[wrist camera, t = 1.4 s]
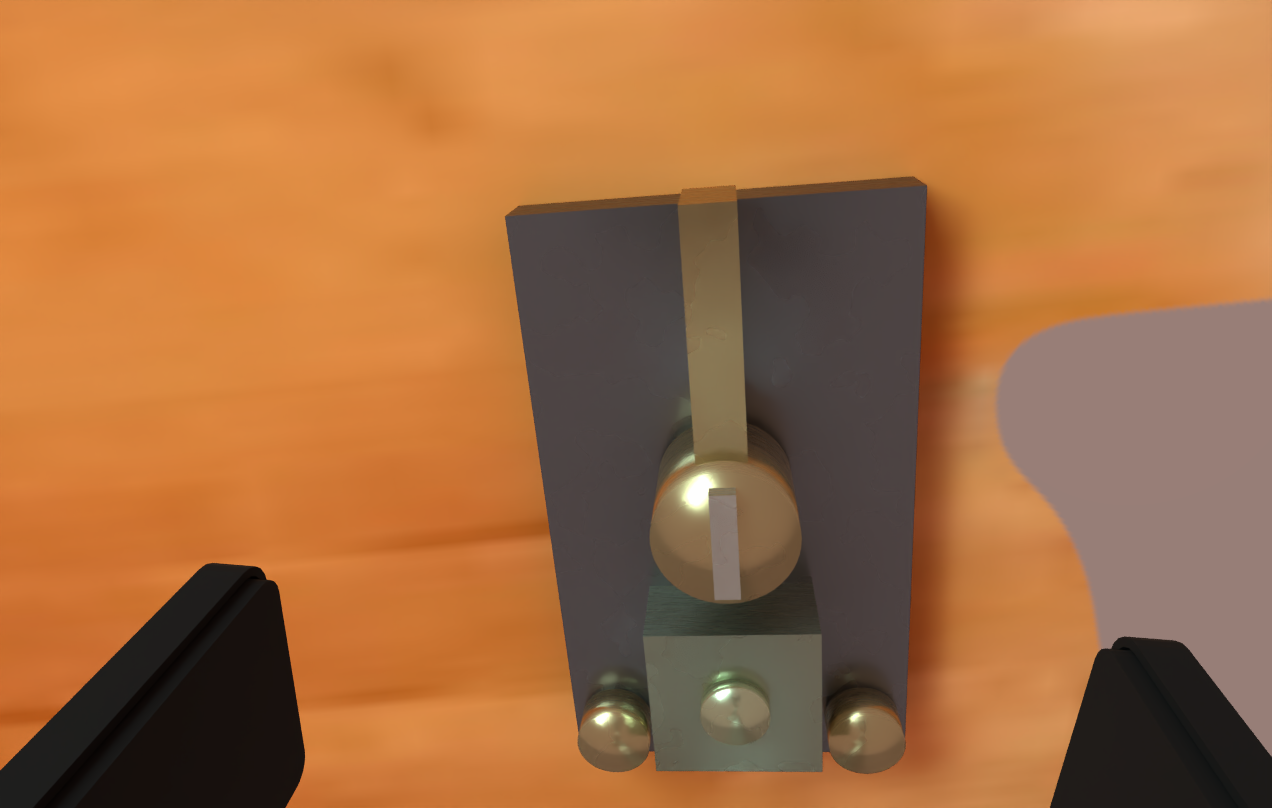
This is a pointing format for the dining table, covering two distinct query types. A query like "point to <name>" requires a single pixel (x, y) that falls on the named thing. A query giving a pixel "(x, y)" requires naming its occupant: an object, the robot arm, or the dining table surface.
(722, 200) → the lever handle
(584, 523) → the plate
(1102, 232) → the dining table surface
